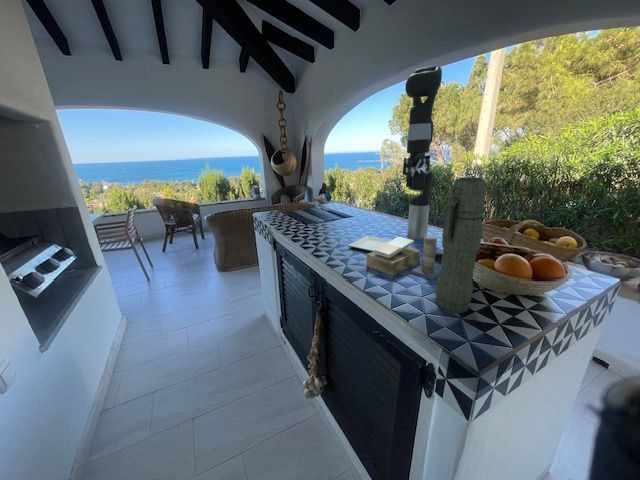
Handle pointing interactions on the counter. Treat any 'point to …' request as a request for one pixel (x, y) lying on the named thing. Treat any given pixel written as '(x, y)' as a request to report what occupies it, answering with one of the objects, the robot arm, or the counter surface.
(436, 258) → the phone
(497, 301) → the counter surface
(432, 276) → the slate pad
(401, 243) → the white flat slab
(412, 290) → the counter surface
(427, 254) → the dowel
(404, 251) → the switch block
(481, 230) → the thermos
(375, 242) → the plate
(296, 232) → the counter surface
